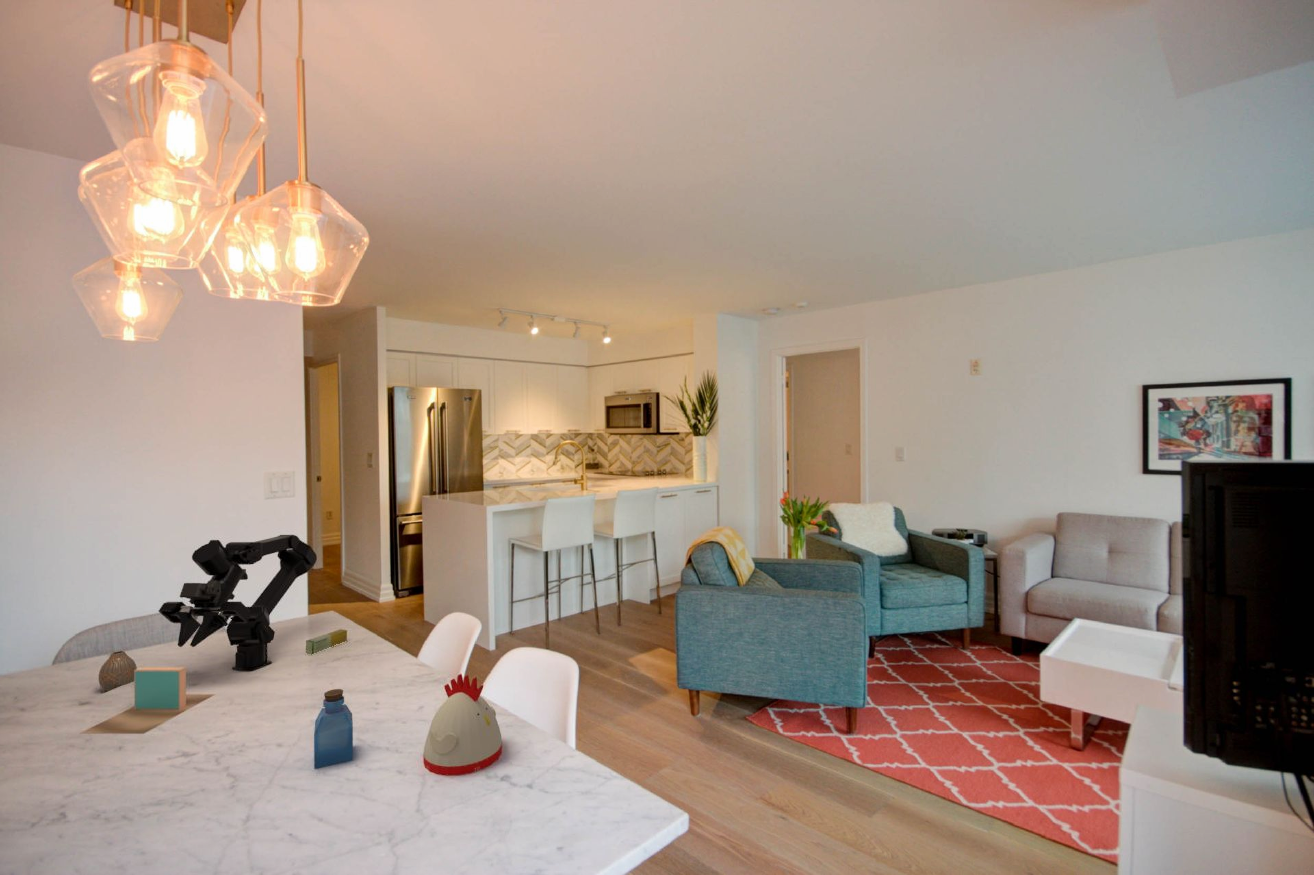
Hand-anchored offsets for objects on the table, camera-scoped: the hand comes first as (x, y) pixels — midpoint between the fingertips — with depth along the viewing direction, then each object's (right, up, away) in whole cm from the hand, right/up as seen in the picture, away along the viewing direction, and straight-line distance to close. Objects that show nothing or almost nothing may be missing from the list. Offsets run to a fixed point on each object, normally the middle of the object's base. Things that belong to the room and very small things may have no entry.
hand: (185, 646), depth 139 cm
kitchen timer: (+71, -12, -25) cm, 77 cm away
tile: (0, -11, -7) cm, 13 cm away
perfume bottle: (+47, -12, -25) cm, 55 cm away
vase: (-22, -13, +8) cm, 27 cm away
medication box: (+13, -13, +36) cm, 40 cm away
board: (0, -12, -9) cm, 15 cm away
